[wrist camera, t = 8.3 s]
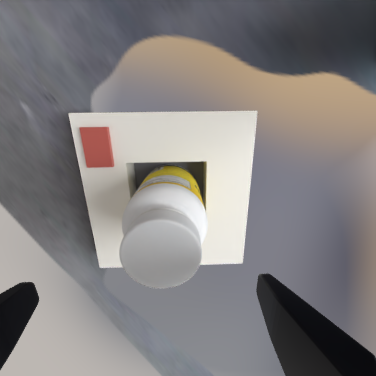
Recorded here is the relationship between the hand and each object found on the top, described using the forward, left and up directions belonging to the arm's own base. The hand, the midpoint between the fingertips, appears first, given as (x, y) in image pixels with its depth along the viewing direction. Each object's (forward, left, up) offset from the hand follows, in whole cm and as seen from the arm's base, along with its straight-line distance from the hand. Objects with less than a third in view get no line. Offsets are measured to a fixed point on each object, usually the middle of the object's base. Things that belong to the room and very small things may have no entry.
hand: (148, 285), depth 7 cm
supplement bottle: (0, 0, -12) cm, 12 cm away
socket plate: (0, 0, -12) cm, 12 cm away
